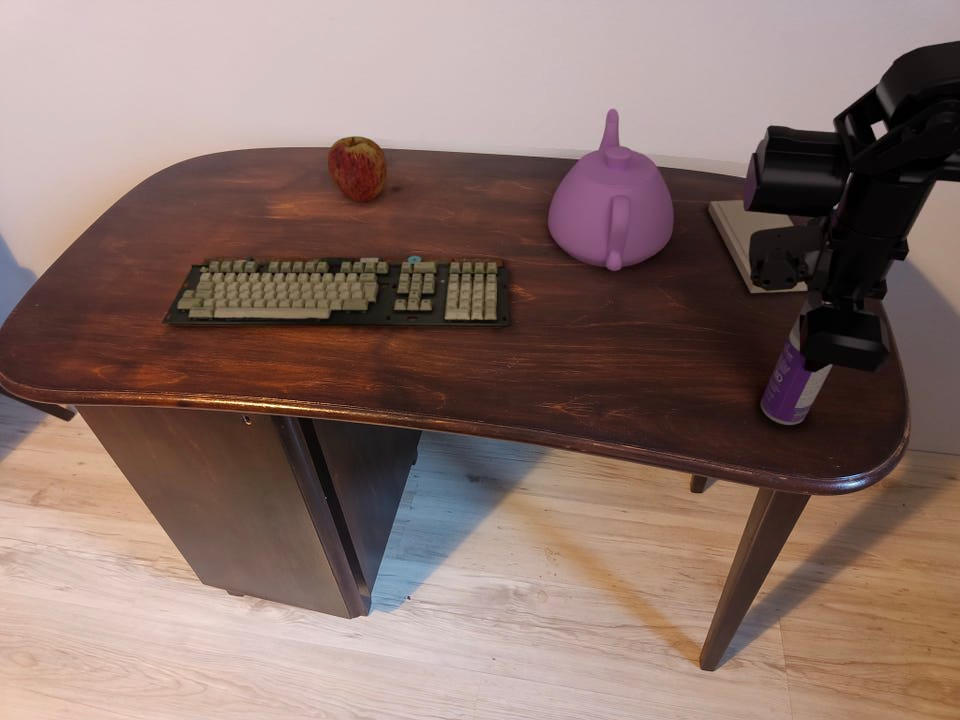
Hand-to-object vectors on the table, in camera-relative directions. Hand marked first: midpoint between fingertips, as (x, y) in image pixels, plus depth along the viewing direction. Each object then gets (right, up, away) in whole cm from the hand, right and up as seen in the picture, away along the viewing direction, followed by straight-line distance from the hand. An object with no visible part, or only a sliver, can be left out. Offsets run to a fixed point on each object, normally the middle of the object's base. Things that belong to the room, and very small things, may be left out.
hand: (809, 352), depth 63 cm
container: (0, -6, +6) cm, 9 cm away
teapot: (-14, +18, +31) cm, 39 cm away
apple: (-52, +26, +41) cm, 71 cm away
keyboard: (-51, +8, +23) cm, 57 cm away
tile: (+8, +15, +27) cm, 32 cm away
